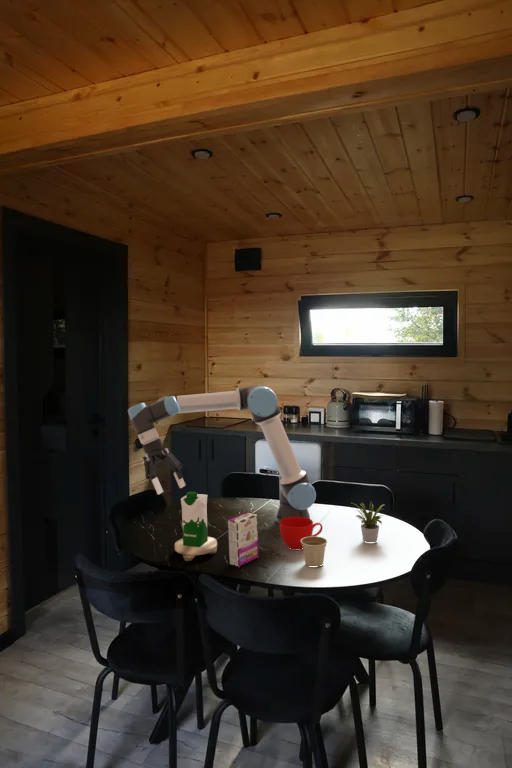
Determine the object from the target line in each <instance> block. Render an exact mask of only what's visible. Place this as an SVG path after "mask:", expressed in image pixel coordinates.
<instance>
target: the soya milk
mask: <svg viewBox="0 0 512 768" xmlns="http://www.w3.org/2000/svg"><path fill="white" fill-rule="evenodd" d="M180 504H181V517H182V519H181V521H182V538H183V545H184V546H193V547H201V546H202V545H203V544H204V543H206V542H207V541H208V537H209V536H208V513H207V511H208V510H207V508H208V507H207V504H208V494H202V493H201V494H200V493H199V494H198V491H194V490H193V491H187V492H186V495H184V496H182V497H181V498H180Z"/></svg>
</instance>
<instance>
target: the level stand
mask: <svg viewBox="0 0 512 768" xmlns="http://www.w3.org/2000/svg"><path fill="white" fill-rule="evenodd" d="M217 548H218V541H217V539H216V538H215V537H211V536H208V541H207V542H206V543H204V544H203V545H202V546H201V547H193V546H184V545H183V537H182V538H180V539H179V540H176V541H175V543H174V551H175V552H176V553H178V554H181V555H182V557H183V559H184V561H186V562H190V561H191V562H192V561H193V559H195V558H196V556H201V555H206V554H211V555H214V554H217Z"/></svg>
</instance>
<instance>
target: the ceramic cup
mask: <svg viewBox="0 0 512 768" xmlns="http://www.w3.org/2000/svg"><path fill="white" fill-rule="evenodd" d="M316 526H320V528H319V530H318V532H316V533H314V534H313V530H314V528H315V527H316ZM279 531H280V537H281V539H282V542H283V543H284V545H286V547H287V548H288V547H289V548H291V549H290V550H292V549H302V548H303V546H302V543H301V539H303V538H305V537H311V536H317V537H318V536H319V535H320V534H321V533H322V532H323V525H322V523H320V522H314V521H313V520H312V519H311V518H310V519H309V518H305V517H287V518H284V519H282V520H281V521H280V524H279ZM289 548H288V549H289ZM302 550H303V549H302Z"/></svg>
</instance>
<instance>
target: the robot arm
mask: <svg viewBox="0 0 512 768" xmlns="http://www.w3.org/2000/svg"><path fill="white" fill-rule="evenodd" d="M233 409H234V410H235V409H236V410H238V411H249V412H250V414H251V417H252V418H253V419H252V420H253V421H254V423H255V424H256V425H259V426H260V429H261V431H262V433H263V435H264V438H265V440H266V443H267V445H268V447H269V450H270V451H271V455H272V457H273V459H274V462H275V464H276V466H277V469H278V472H279V474H278V481H279V482H278V485H279V506H278V509H277V512H276V516H275V521H276V523H277V524H278V525H280V521H281V520H282V519H284V518H287V517H305V518H309V519H311V516H310V515H311V514H310V513H309V508H311V507H312V506H313V504H314V503H315V501H316V498H317V493H316V490H315V487H314V486H313V485H312V484H311V481H310V479H309V476H308V474H307V472H306V470H303V469H301V466H300V465H299V461H298V459H297V457H296V454H295V452H294V450H293V447H292V445H291V442H290V440H289V437H288V435H287V433H286V431H285V428H284V424H283V423H282V420H281V419H280V416H281V414H282V411H281V409H280V405H279V403H278V397H277V394H276V393H275V392H274V390H272V389H271V388H270V387H268V386H264V385H260V384H256V385H250V386H246V387H237V388H236V389H235V390H231V391H221V392H220V391H219V392H218V391H217V392H207V393H197V394H195V393H193V394H185V395H175V396H174V395H171V396H168V395H165V396H161V397H159V398H158V399H157V401H155V402H154V403H151V404H149V405H147V404H146V403H145V402H141V403H139V404H136V405H133V406H131V407H129V408H128V409H127V413H128V416H129V418H130V422H131V424H132V426H133V428H134V430H135V431H134V432H135V433H136V435H137V437H138V439H139V441H140V444H141V446H142V449H143V452H144V454H147V455H145V456H143V457H142V459H143V463H144V473H145V480H149V481H151V483H152V486H153V487H154V490H155V491H156V495H160V494H162V493H164V489H163V488H162V485H161V483H160V481H159V478H158V476H157V475H156V474H157V468H158V464H161V463H162V464H164V465H165V466H167V468H169V469H171V470H172V471H173V476H174V478H175V480H176V483H177V485H178V487H179V489H182V488H184V487H185V486H186V483H185V481H184V476H183V473H182V471H181V469H182V468H183V466H184V465H183V464H182V463H181V462H180V461H179V459H178V458H176V456H175V455H174V454H173V453H172V451H171V450H170V448H169V447H166V448H164V449H163V446H164V445H163V443H162V439H160V438H159V437H160V435H159V433H158V431H157V428H156V427H155V424H156V423H159V422H160V421H162V420H165V419H168V418H171V417H174V416H175V415H177V414H187V413H198V412H208V411H209V412H211V411H212V412H213V411H222V410H233Z"/></svg>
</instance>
